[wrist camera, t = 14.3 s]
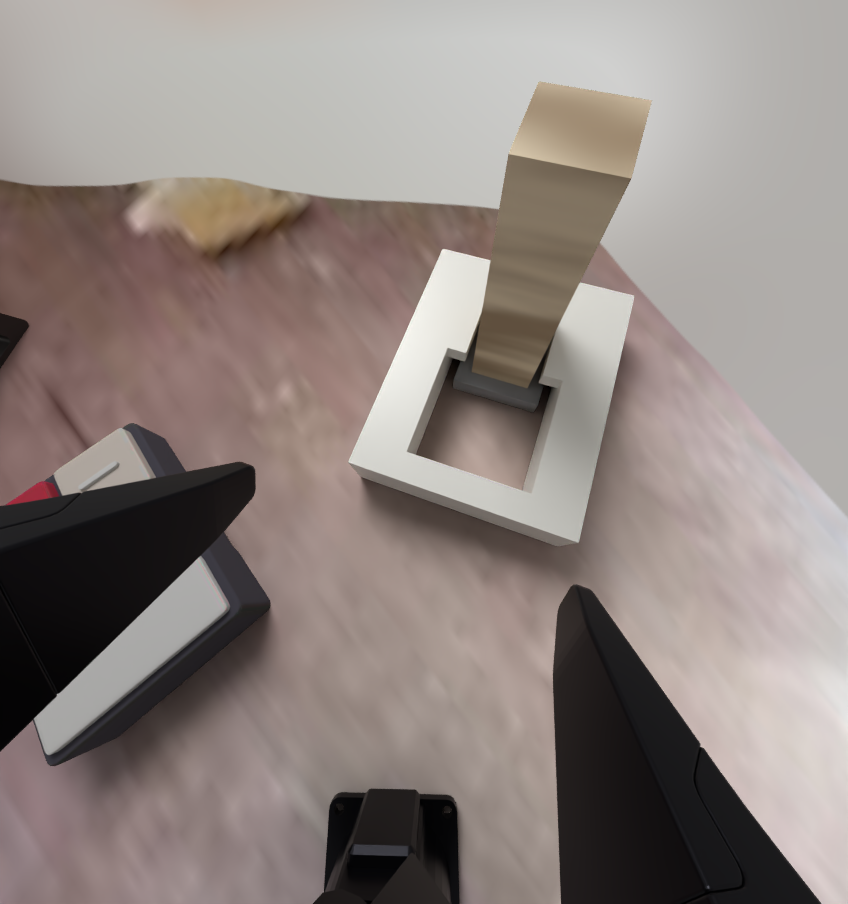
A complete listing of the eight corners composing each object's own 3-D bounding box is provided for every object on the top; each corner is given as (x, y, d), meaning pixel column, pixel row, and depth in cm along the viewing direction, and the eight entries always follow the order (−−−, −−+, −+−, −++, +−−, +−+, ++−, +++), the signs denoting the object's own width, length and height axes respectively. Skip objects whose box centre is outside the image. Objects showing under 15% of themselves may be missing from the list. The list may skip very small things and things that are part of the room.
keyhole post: (533, 412, 25) (658, 207, 11) (452, 388, 26) (470, 167, 12) (553, 344, 27) (685, 87, 12) (477, 323, 28) (519, 60, 13)
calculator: (122, 414, 23) (235, 611, 18) (172, 439, 27) (275, 605, 22) (-49, 528, 21) (29, 781, 16) (33, 537, 25) (114, 741, 20)
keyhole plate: (557, 546, 22) (578, 543, 19) (360, 476, 24) (348, 462, 21) (610, 329, 27) (634, 295, 24) (442, 285, 29) (442, 248, 25)
